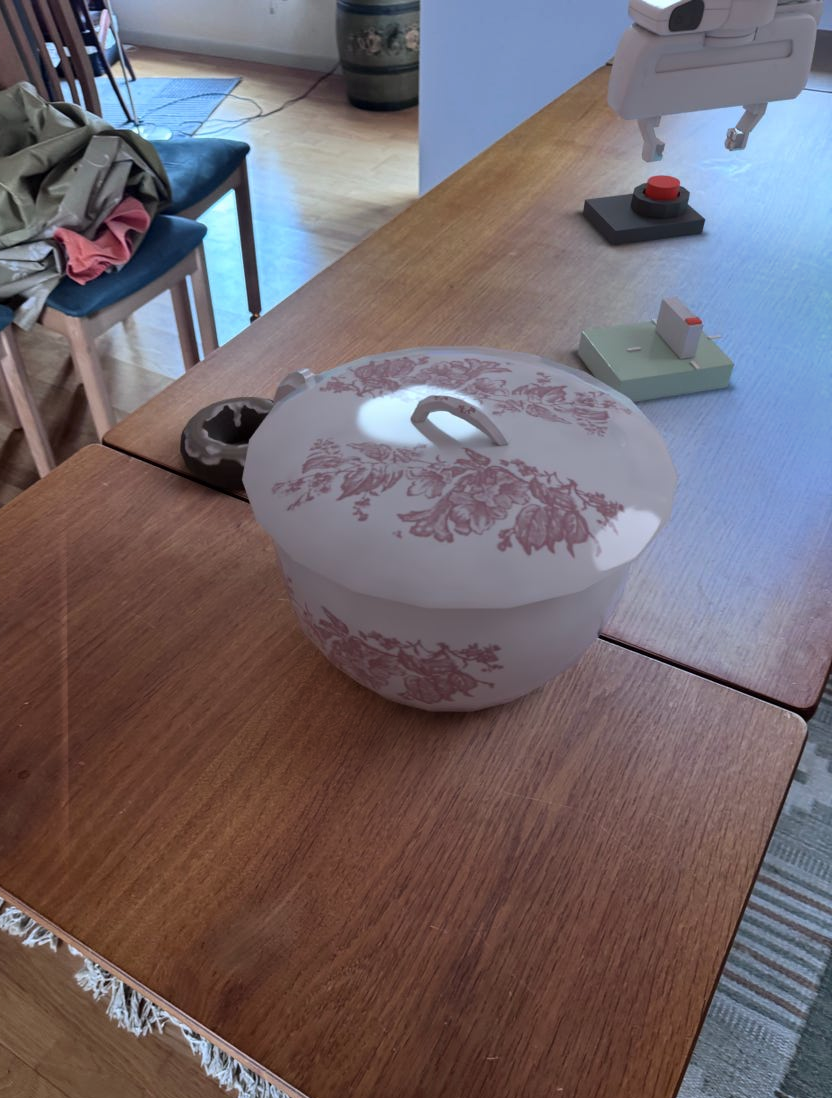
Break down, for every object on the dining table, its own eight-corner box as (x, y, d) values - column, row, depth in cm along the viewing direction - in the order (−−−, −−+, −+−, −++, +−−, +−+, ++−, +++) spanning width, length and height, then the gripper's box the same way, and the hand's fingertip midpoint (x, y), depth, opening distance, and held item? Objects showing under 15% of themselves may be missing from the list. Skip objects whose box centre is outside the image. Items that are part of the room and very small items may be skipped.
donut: (332, 456, 86) (330, 420, 83) (238, 515, 81) (232, 478, 78) (251, 410, 92) (247, 375, 89) (159, 462, 86) (150, 426, 83)
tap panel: (690, 339, 98) (697, 311, 96) (737, 389, 92) (746, 360, 89) (576, 356, 97) (581, 328, 94) (615, 408, 90) (621, 379, 88)
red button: (668, 187, 117) (671, 173, 116) (682, 200, 114) (685, 185, 113) (639, 191, 117) (642, 177, 115) (653, 203, 114) (656, 189, 113)
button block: (666, 205, 122) (673, 174, 119) (701, 236, 115) (709, 204, 112) (582, 216, 120) (586, 185, 118) (612, 248, 114) (618, 216, 111)
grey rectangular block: (654, 330, 94) (662, 295, 91) (669, 327, 94) (677, 293, 92) (680, 359, 90) (689, 324, 87) (695, 357, 90) (704, 322, 88)
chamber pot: (674, 765, 61) (769, 530, 46) (268, 796, 61) (228, 568, 45) (576, 504, 80) (620, 276, 65) (266, 525, 80) (237, 300, 64)
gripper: (810, -23, 88) (766, 132, 98) (613, -2, 85) (590, 155, 96) (848, -8, 84) (799, 152, 94) (643, 15, 81) (616, 177, 91)
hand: (692, 154), depth 95 cm, fingers open, 8 cm apart
